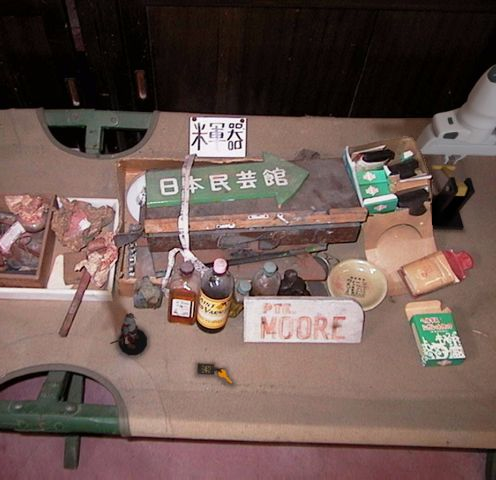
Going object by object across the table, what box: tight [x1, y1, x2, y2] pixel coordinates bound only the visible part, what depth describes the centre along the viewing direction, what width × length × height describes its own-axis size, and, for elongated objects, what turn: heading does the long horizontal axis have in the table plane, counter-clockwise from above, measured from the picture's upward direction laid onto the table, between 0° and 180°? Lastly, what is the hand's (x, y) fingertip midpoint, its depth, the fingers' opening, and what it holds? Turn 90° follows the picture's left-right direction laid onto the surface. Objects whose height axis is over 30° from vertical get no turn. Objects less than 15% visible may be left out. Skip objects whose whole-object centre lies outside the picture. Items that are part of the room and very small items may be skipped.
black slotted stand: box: [431, 176, 476, 231], centre depth 134 cm, size 10×9×13 cm
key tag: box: [197, 363, 233, 384], centre depth 117 cm, size 8×3×1 cm, turn 73°
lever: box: [430, 164, 468, 196], centre depth 134 cm, size 13×6×2 cm, turn 178°
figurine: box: [109, 312, 148, 356], centre depth 115 cm, size 7×7×15 cm
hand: (448, 162), depth 137 cm, fingers closed
